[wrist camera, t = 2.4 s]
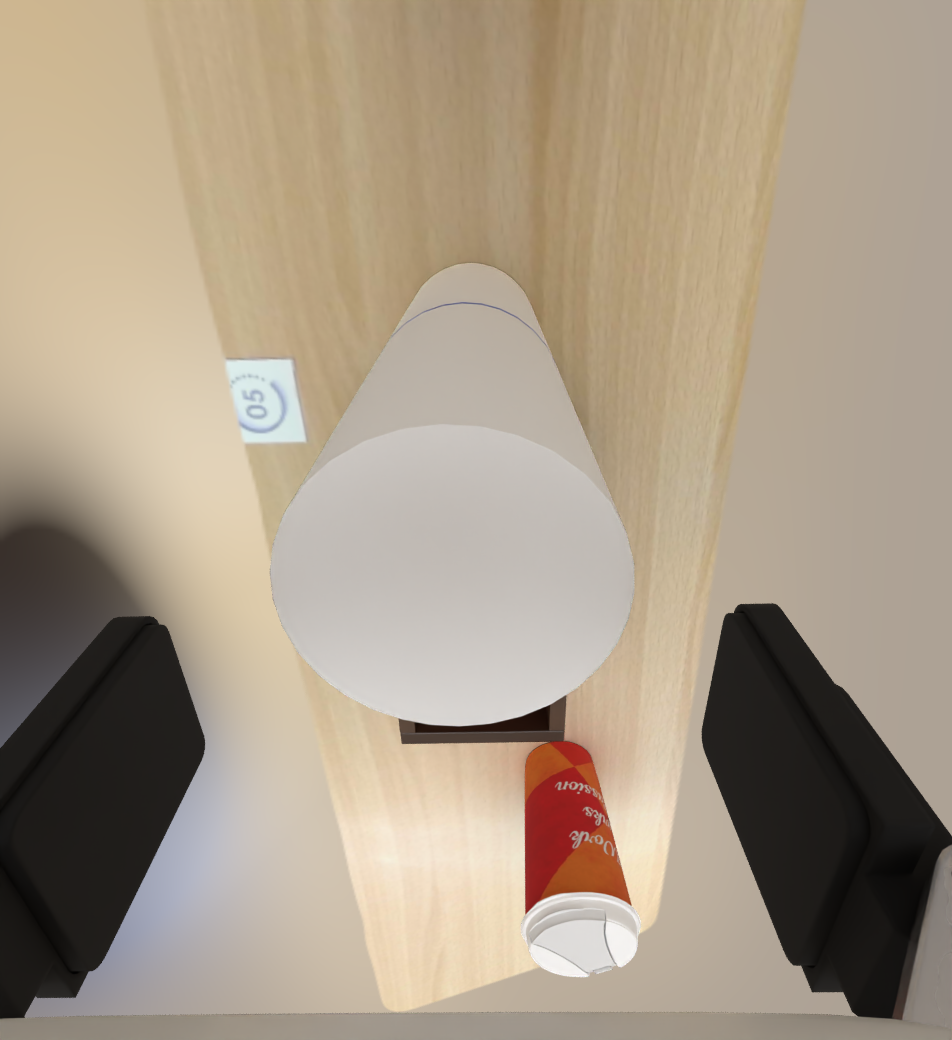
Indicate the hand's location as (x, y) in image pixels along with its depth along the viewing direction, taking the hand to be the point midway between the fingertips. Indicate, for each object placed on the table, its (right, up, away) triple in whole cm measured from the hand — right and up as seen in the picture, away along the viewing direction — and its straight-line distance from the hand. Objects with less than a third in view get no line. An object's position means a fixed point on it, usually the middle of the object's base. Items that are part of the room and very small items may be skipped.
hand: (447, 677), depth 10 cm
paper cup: (+7, -17, +40) cm, 45 cm away
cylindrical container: (0, +13, +24) cm, 27 cm away
